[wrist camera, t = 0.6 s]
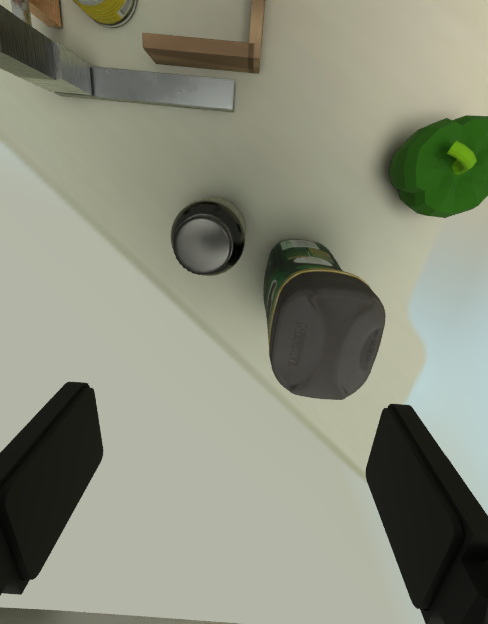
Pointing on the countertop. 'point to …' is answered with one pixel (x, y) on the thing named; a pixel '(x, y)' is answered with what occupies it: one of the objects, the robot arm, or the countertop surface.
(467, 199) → the bell pepper
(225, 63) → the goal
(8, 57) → the carriage
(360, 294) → the coffee jar
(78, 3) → the supplement bottle
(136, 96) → the rail
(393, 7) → the countertop surface
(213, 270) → the supplement bottle
